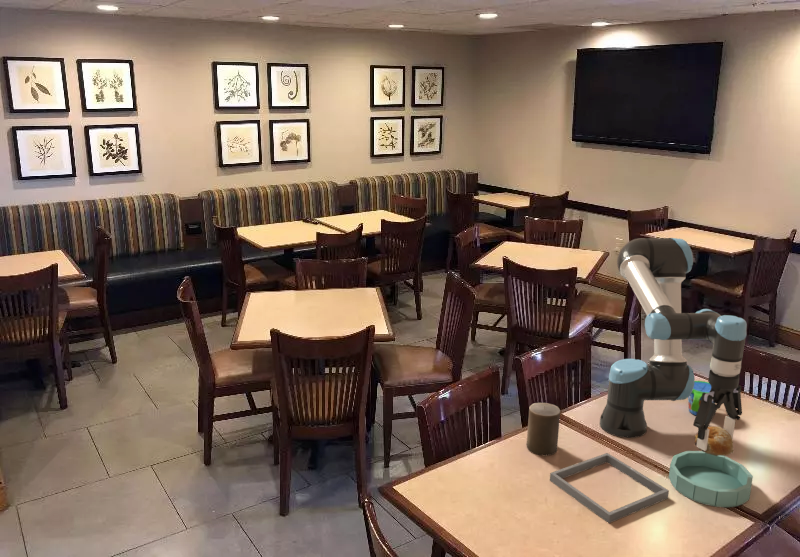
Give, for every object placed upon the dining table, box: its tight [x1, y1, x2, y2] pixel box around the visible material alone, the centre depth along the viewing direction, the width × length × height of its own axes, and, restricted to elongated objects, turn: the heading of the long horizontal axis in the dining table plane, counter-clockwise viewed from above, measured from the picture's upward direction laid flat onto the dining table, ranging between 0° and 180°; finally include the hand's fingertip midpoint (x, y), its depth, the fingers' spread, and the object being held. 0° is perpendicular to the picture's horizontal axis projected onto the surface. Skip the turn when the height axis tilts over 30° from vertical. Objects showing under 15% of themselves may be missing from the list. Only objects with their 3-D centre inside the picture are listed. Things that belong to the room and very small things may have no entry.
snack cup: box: [687, 380, 716, 416], centre depth 234 cm, size 16×10×10 cm
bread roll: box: [694, 425, 735, 457], centre depth 188 cm, size 10×10×8 cm
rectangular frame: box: [549, 452, 670, 524], centre depth 190 cm, size 23×23×2 cm
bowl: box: [668, 450, 754, 508], centre depth 191 cm, size 21×21×5 cm
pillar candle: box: [526, 402, 561, 456], centre depth 210 cm, size 10×10×15 cm
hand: (714, 443), depth 188 cm, fingers closed on bread roll, 11 cm apart
